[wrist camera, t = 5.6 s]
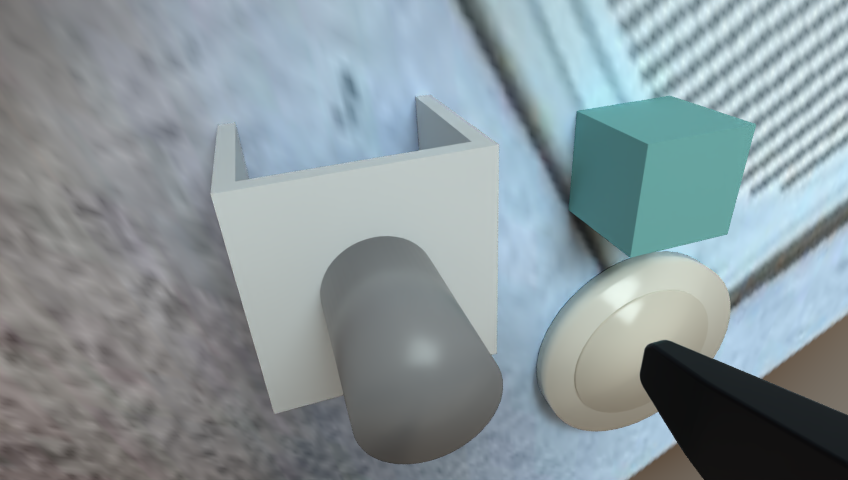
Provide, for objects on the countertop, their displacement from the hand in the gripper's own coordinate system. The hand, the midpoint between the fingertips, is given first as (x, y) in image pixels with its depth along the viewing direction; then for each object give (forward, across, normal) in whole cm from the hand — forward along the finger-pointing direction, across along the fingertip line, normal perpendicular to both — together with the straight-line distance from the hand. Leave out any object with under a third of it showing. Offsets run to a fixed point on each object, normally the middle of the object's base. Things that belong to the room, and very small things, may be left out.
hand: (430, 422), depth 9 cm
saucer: (+10, -13, +10) cm, 19 cm away
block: (+10, -11, 0) cm, 15 cm away
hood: (+10, 0, 0) cm, 10 cm away
